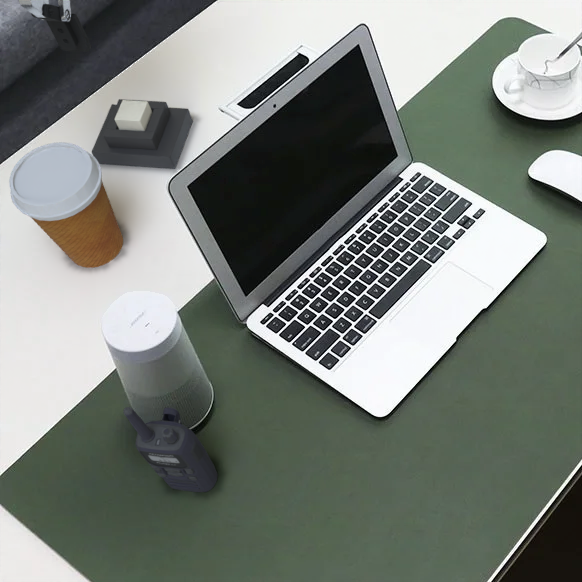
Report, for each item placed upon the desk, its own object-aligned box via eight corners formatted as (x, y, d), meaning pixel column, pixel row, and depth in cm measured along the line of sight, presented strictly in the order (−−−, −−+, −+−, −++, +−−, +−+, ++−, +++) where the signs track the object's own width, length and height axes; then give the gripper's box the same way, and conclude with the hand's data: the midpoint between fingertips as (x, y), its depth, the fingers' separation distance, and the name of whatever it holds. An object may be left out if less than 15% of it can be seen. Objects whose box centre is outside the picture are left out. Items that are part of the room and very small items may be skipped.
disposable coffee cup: (131, 278, 93) (88, 206, 83) (48, 282, 94) (-5, 211, 83) (142, 212, 98) (103, 135, 87) (63, 216, 98) (15, 141, 88)
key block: (98, 165, 102) (84, 141, 98) (118, 117, 106) (106, 92, 102) (175, 170, 101) (165, 146, 97) (193, 121, 104) (183, 96, 101)
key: (119, 130, 99) (114, 119, 98) (127, 111, 101) (122, 99, 99) (145, 132, 99) (139, 120, 97) (152, 112, 100) (147, 101, 99)
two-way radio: (162, 490, 81) (102, 422, 68) (174, 449, 83) (118, 375, 70) (217, 496, 80) (166, 429, 67) (227, 454, 82) (181, 381, 69)
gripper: (11, -214, 76) (87, -39, 91) (-70, -97, 68) (29, 73, 83) (88, -214, 74) (152, -36, 90) (15, -94, 67) (99, 78, 82)
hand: (93, 16), depth 86 cm, fingers open, 9 cm apart
